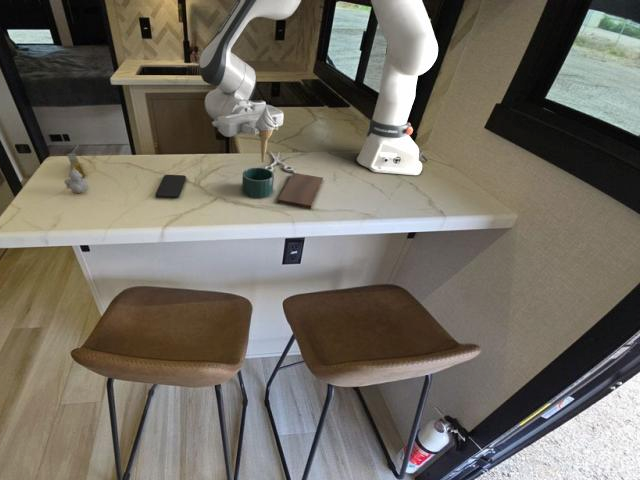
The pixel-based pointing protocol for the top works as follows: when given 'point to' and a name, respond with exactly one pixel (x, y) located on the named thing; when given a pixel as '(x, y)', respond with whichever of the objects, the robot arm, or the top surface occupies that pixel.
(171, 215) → the top surface
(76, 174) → the grey lumpy piece
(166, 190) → the phone
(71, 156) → the medication box
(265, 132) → the ice cream cone
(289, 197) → the board
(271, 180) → the cup
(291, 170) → the scissors
